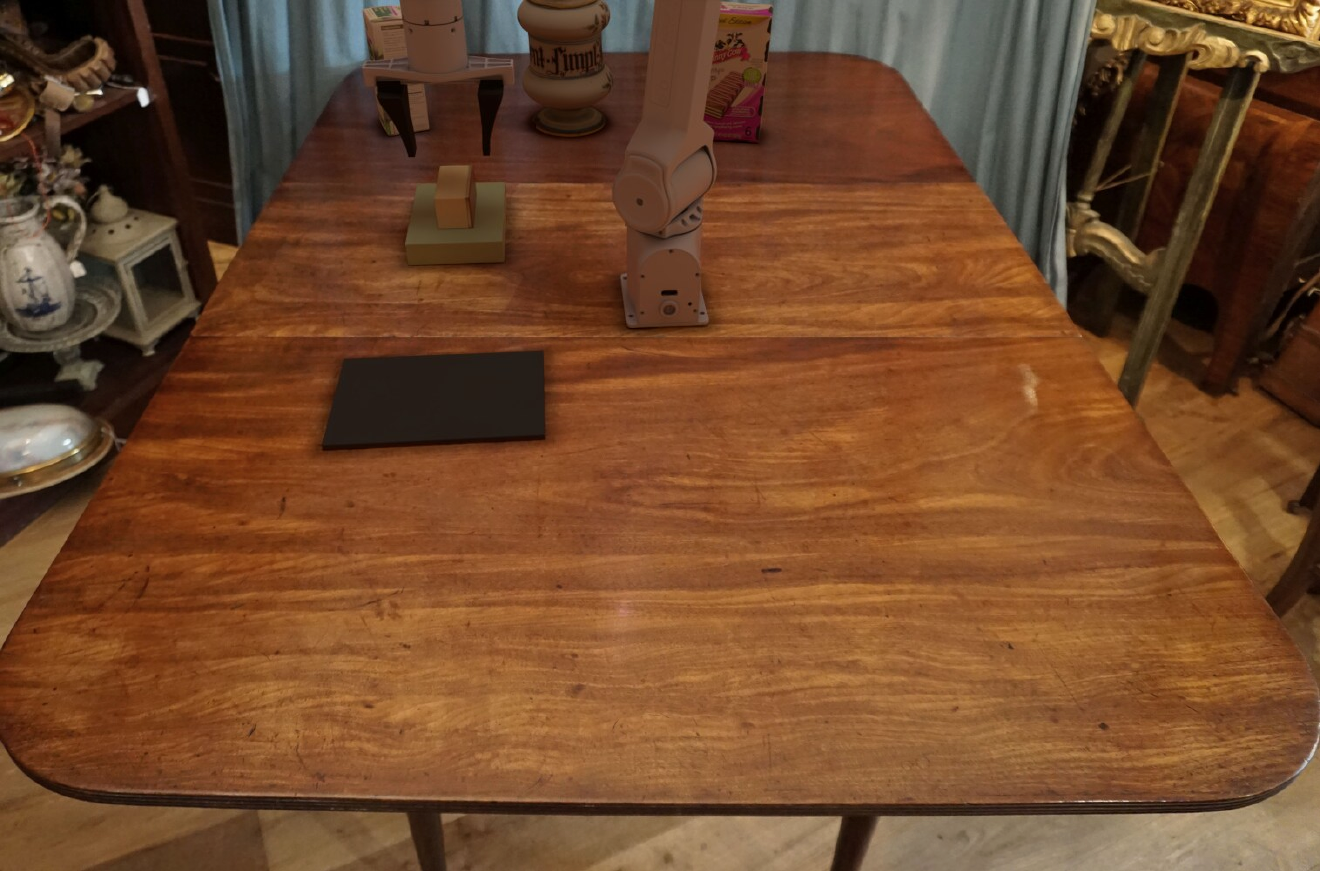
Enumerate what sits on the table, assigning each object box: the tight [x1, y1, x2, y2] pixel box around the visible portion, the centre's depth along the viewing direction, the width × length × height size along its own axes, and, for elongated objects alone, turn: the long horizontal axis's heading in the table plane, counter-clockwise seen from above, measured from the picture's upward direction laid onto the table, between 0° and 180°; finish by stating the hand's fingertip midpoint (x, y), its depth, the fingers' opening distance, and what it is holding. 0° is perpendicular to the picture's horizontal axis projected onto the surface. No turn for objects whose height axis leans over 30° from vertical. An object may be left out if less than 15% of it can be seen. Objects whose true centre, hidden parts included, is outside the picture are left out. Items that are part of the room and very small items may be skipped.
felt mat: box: [321, 350, 546, 451], centre depth 81 cm, size 12×18×1 cm, turn 96°
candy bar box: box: [703, 0, 774, 143], centre depth 120 cm, size 11×5×16 cm, turn 84°
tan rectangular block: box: [434, 164, 477, 229], centre depth 101 cm, size 8×4×4 cm, turn 6°
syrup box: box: [362, 4, 430, 136], centre depth 121 cm, size 6×6×14 cm
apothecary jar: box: [516, 0, 614, 138], centre depth 122 cm, size 12×12×18 cm
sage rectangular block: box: [404, 181, 508, 266], centre depth 103 cm, size 14×10×2 cm
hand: (449, 152), depth 98 cm, fingers open, 7 cm apart
